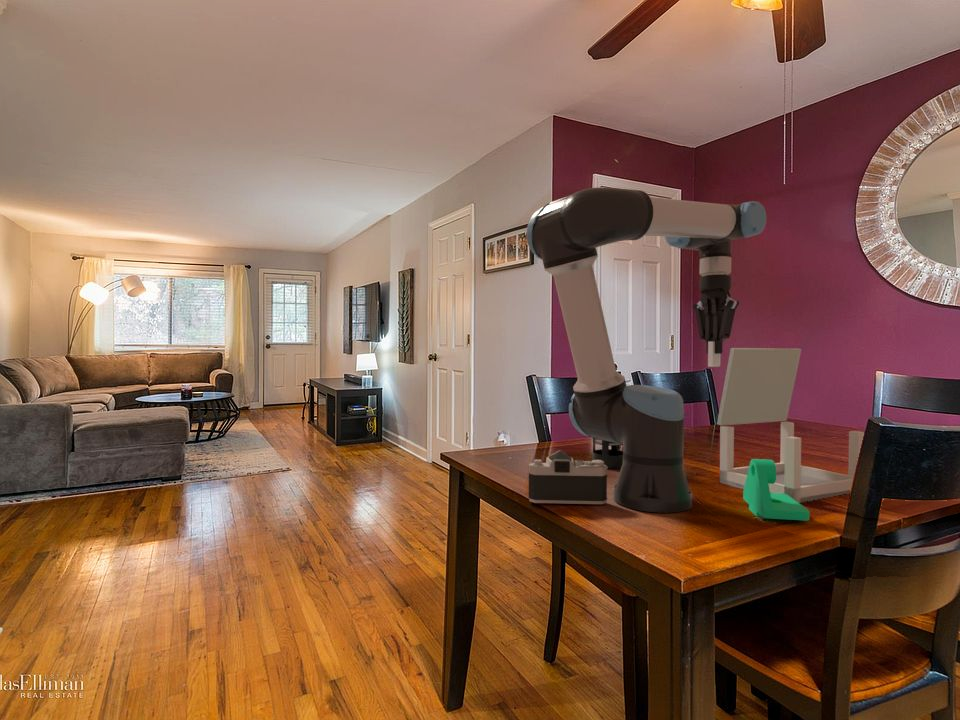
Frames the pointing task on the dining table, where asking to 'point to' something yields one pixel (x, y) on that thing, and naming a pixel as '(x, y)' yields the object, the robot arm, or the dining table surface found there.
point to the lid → (758, 385)
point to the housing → (792, 468)
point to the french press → (608, 454)
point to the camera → (567, 480)
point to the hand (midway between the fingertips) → (714, 366)
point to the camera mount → (769, 494)
